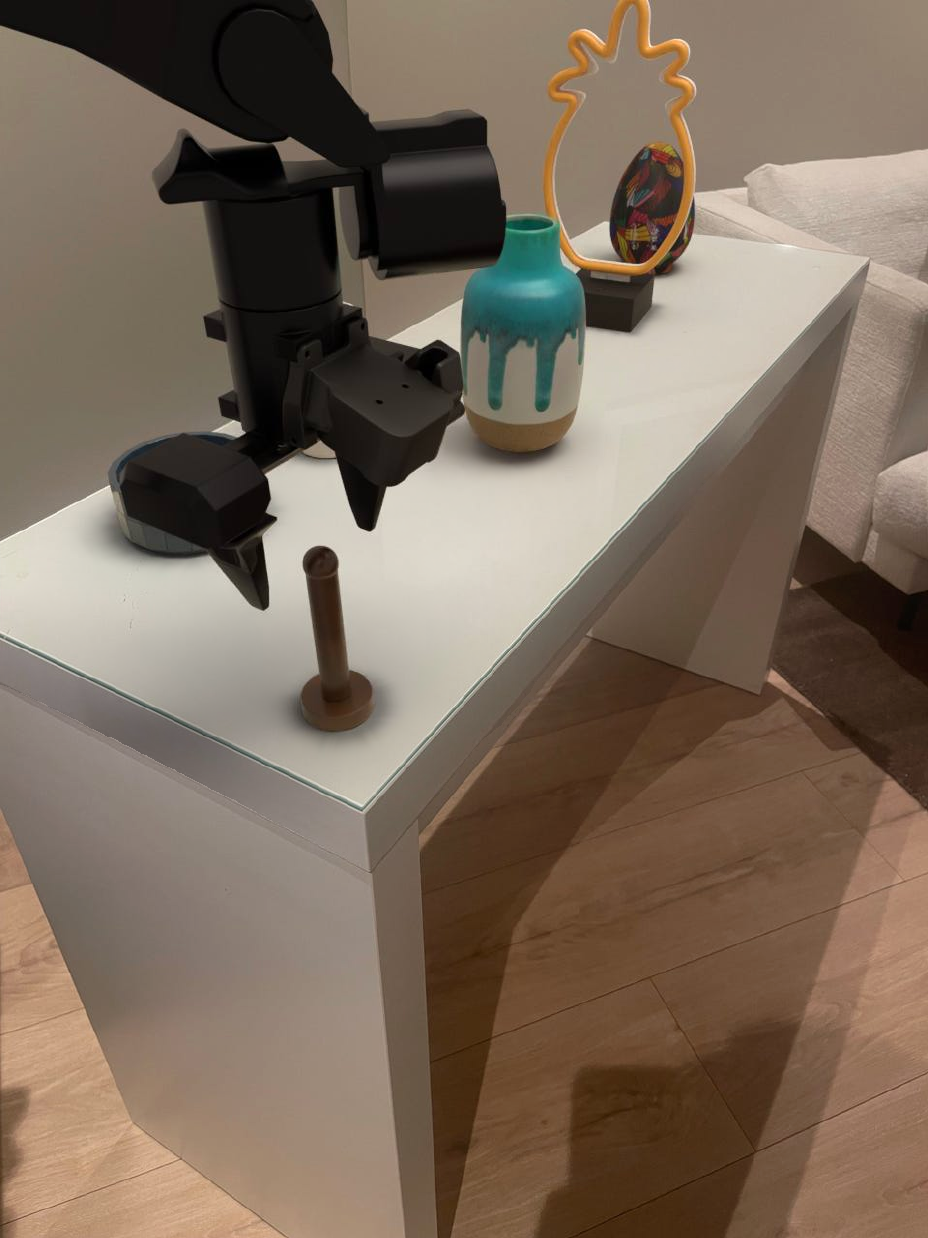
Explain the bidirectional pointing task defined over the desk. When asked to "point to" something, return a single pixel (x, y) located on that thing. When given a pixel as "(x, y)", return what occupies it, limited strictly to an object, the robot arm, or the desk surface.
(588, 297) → the lamp
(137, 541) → the bowl
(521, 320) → the vase
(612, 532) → the desk surface
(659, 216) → the egg
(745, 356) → the desk surface
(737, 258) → the desk surface
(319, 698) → the stirring stick
